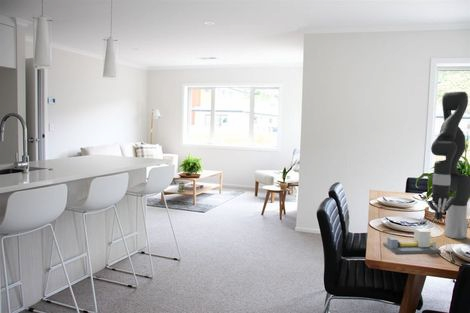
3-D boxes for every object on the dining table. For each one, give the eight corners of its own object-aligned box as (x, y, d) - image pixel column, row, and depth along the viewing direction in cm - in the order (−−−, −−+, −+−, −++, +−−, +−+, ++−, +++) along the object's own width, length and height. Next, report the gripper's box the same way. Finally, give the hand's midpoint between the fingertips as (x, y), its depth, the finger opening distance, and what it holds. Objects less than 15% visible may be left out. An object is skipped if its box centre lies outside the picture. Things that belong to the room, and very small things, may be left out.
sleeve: (423, 243, 196) (424, 228, 196) (429, 246, 191) (430, 231, 190) (413, 243, 196) (414, 228, 195) (419, 247, 191) (420, 231, 190)
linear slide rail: (426, 244, 200) (426, 233, 200) (440, 252, 188) (441, 241, 188) (383, 245, 198) (383, 234, 198) (395, 253, 186) (395, 242, 186)
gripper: (449, 182, 196) (446, 217, 198) (423, 181, 194) (420, 217, 196) (459, 184, 188) (456, 221, 190) (432, 184, 187) (429, 221, 189)
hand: (438, 219), depth 193 cm, fingers closed
